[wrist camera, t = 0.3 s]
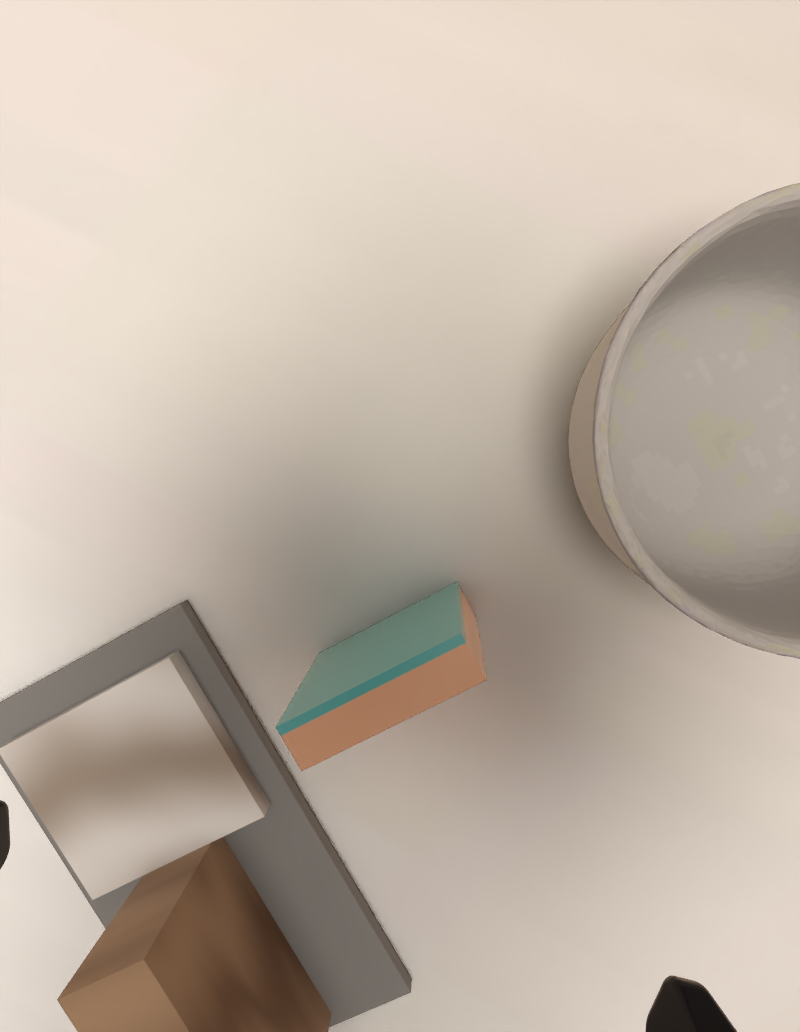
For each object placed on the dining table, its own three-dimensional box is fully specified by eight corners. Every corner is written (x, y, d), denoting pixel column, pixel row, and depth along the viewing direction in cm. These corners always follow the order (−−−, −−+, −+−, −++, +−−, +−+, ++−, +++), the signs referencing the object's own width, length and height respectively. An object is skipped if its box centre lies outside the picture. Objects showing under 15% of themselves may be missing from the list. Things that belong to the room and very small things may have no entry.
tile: (338, 686, 23) (301, 771, 17) (319, 653, 23) (275, 727, 17) (475, 616, 23) (486, 679, 17) (456, 581, 22) (460, 633, 16)
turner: (383, 991, 24) (362, 1172, 18) (216, 1063, 25) (145, 1256, 19) (178, 649, 23) (85, 724, 17) (12, 739, 24) (-132, 839, 18)
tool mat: (208, 1066, 26) (202, 1081, 25) (-17, 711, 24) (-29, 718, 24) (411, 979, 25) (410, 992, 24) (186, 599, 23) (180, 604, 23)
